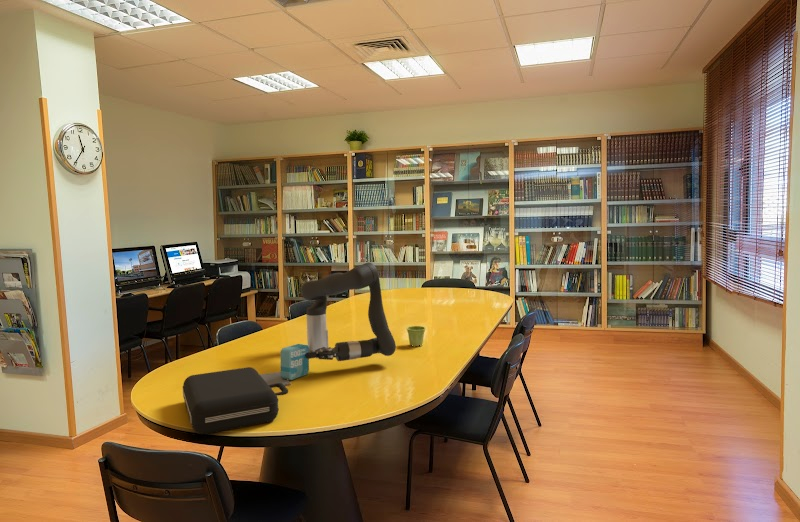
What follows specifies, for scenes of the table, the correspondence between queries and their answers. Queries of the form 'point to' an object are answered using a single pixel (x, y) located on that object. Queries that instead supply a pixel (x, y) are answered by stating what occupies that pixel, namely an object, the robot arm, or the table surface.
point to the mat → (274, 378)
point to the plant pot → (416, 335)
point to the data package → (294, 361)
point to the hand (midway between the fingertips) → (306, 355)
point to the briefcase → (230, 400)
